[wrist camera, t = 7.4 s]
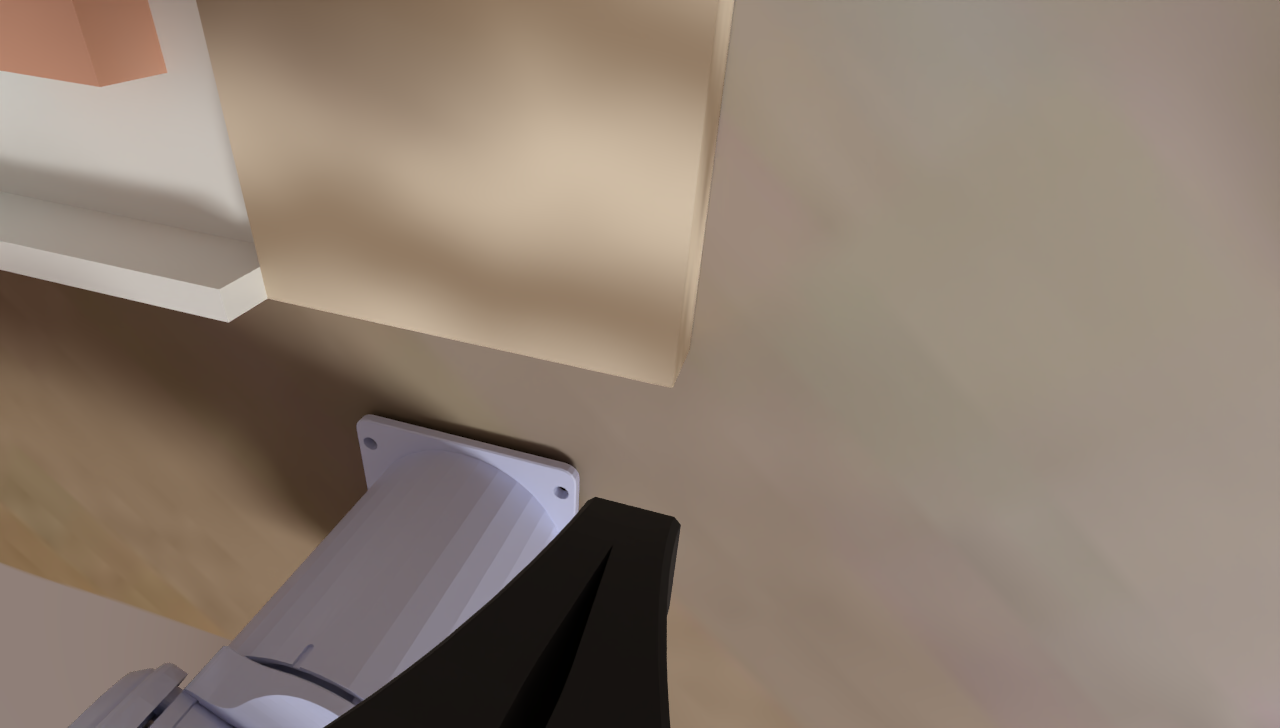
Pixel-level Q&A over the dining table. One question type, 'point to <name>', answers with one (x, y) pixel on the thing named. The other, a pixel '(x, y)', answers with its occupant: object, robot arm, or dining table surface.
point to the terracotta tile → (80, 40)
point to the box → (130, 183)
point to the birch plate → (482, 165)
